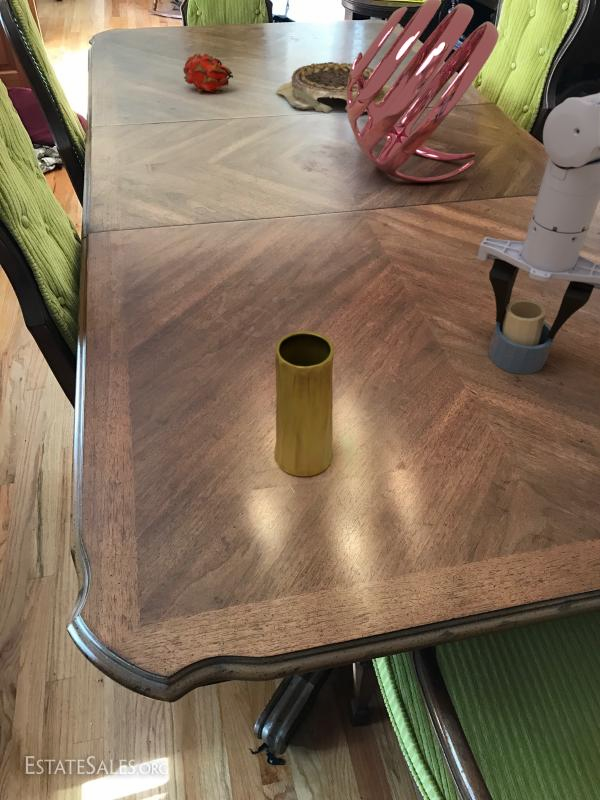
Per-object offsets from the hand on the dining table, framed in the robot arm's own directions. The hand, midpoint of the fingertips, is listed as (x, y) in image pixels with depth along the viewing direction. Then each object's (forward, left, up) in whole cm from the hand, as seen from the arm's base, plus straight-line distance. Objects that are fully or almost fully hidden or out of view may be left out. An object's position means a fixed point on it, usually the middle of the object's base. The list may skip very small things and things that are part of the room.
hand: (526, 326), depth 72 cm
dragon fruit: (+89, -62, -5) cm, 109 cm away
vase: (+15, +27, -5) cm, 31 cm away
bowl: (0, 0, -5) cm, 5 cm away
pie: (+61, -74, -5) cm, 96 cm away
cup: (0, 0, -4) cm, 4 cm away
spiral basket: (+32, -45, -5) cm, 56 cm away
